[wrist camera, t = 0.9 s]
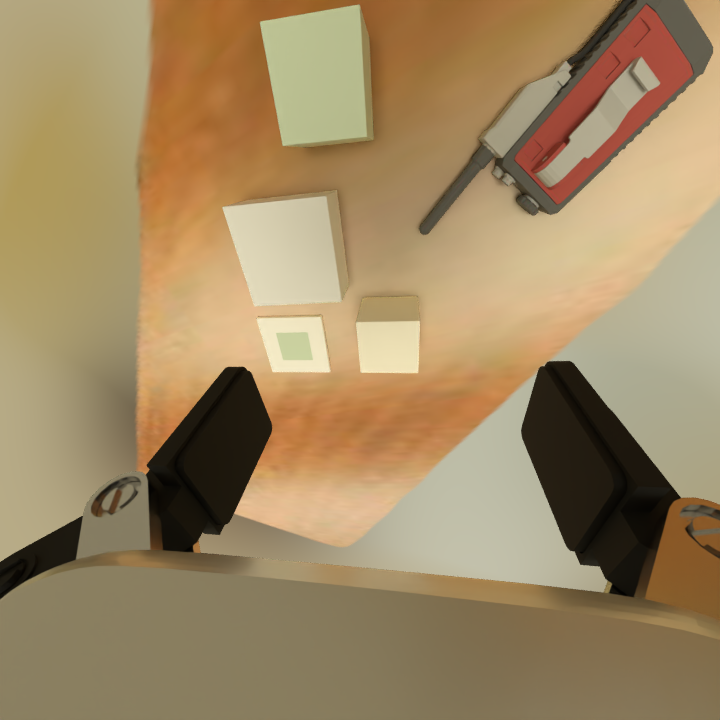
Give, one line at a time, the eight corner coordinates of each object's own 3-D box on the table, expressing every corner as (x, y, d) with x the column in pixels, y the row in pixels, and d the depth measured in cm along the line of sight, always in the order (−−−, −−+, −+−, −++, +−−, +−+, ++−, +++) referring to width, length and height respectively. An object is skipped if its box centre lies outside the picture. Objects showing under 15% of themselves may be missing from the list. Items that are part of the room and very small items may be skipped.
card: (258, 316, 36) (256, 318, 36) (321, 315, 35) (320, 317, 34) (274, 369, 40) (272, 372, 40) (331, 370, 39) (330, 372, 39)
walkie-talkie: (630, -60, 18) (412, 223, 29) (686, -114, 15) (413, 232, 25) (704, 53, 20) (476, 278, 31) (768, 32, 17) (486, 294, 27)
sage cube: (291, 50, 23) (259, 21, 18) (369, 38, 22) (359, 4, 17) (305, 147, 26) (282, 145, 21) (373, 140, 25) (366, 136, 20)
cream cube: (362, 297, 33) (355, 322, 28) (417, 295, 32) (420, 321, 27) (366, 343, 36) (360, 372, 32) (416, 343, 36) (418, 373, 31)
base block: (247, 199, 29) (222, 207, 25) (337, 189, 28) (326, 195, 23) (272, 288, 34) (254, 306, 30) (349, 283, 33) (341, 301, 28)
